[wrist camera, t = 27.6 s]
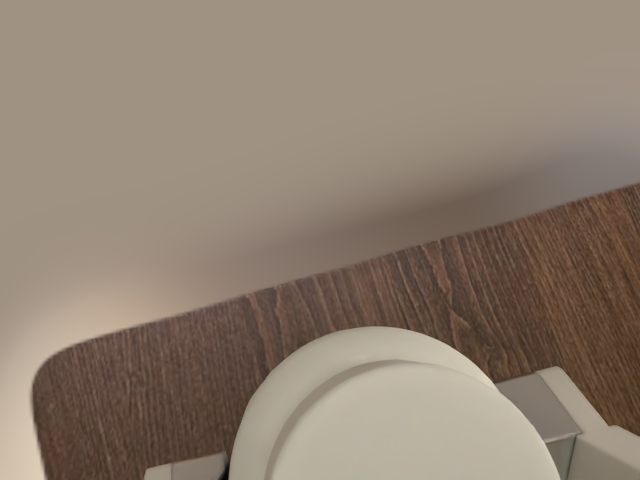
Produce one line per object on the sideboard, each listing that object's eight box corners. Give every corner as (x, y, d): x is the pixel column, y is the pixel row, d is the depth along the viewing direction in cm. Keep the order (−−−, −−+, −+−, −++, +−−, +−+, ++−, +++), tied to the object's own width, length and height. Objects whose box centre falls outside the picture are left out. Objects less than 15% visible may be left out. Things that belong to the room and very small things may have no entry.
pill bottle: (419, 551, 16) (618, 809, 7) (231, 520, 16) (161, 738, 7) (442, 359, 17) (636, 345, 8) (268, 328, 17) (252, 276, 8)
